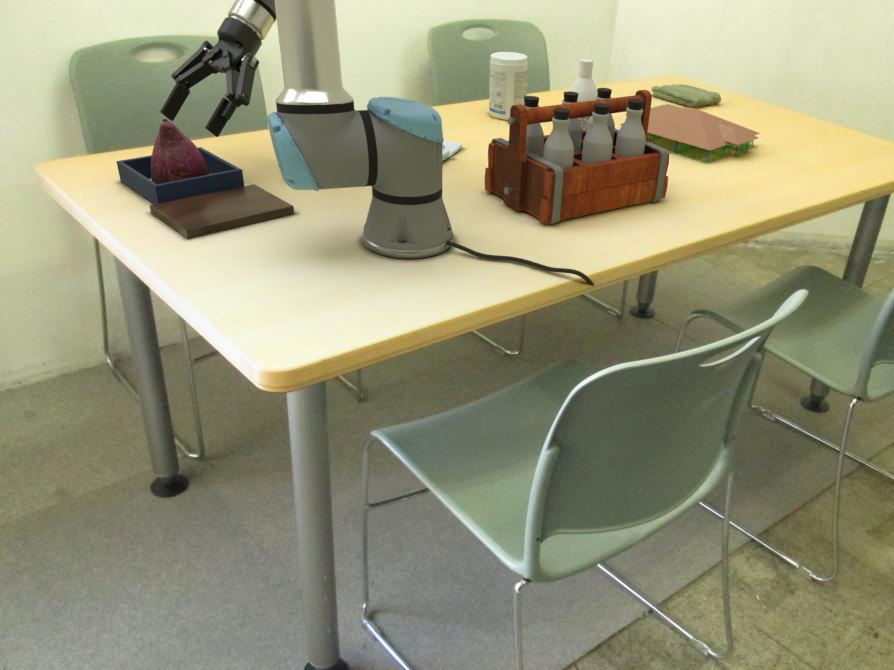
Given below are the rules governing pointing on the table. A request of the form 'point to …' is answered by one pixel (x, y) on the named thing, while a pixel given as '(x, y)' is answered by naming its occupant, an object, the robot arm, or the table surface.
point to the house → (697, 130)
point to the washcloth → (686, 95)
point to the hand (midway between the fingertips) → (188, 124)
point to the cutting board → (221, 210)
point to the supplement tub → (507, 82)
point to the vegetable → (175, 156)
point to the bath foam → (585, 86)
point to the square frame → (139, 171)
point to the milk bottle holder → (577, 157)
